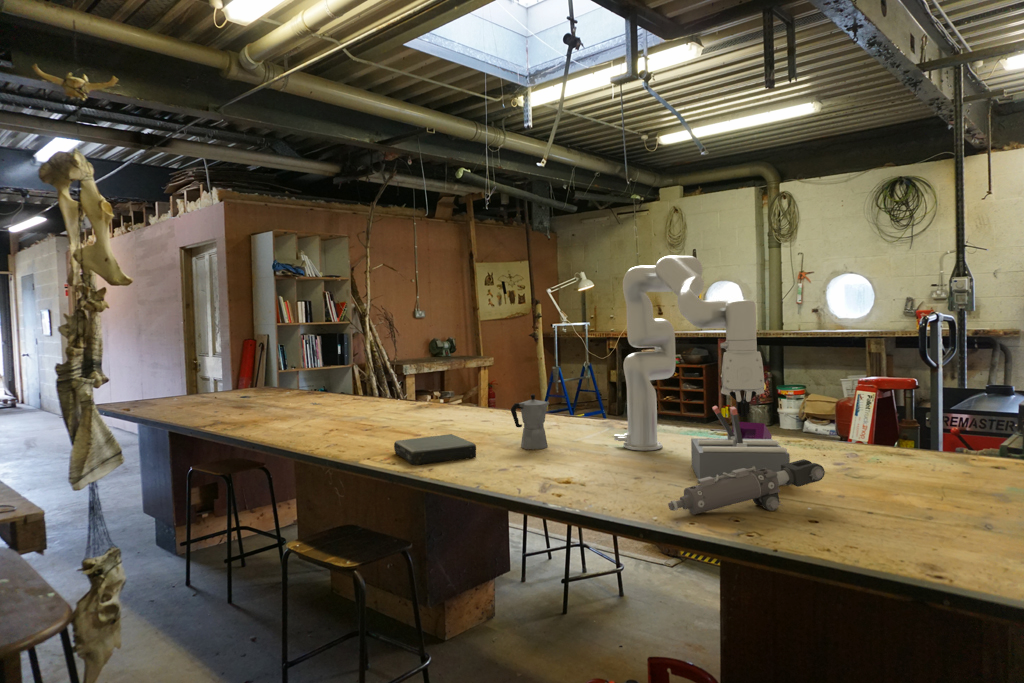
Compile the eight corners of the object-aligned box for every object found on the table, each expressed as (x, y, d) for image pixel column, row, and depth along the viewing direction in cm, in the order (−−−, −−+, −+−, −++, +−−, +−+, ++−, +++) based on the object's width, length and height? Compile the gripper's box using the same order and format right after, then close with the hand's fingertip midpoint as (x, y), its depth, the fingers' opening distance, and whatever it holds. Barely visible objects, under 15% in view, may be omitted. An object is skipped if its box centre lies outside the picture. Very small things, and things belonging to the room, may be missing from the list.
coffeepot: (542, 442, 221) (541, 391, 220) (558, 446, 213) (556, 393, 212) (504, 448, 213) (503, 395, 212) (519, 452, 205) (518, 398, 204)
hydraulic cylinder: (831, 496, 141) (824, 453, 140) (681, 537, 135) (673, 492, 134) (810, 488, 148) (803, 447, 147) (666, 526, 142) (659, 483, 141)
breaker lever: (739, 449, 164) (732, 409, 164) (736, 446, 168) (729, 407, 168) (744, 448, 164) (736, 408, 164) (741, 445, 168) (734, 406, 168)
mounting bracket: (742, 461, 210) (730, 447, 196) (744, 436, 213) (732, 421, 199) (772, 464, 205) (762, 450, 191) (774, 439, 208) (764, 423, 194)
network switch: (483, 457, 201) (483, 442, 201) (417, 469, 188) (416, 452, 188) (448, 446, 220) (448, 432, 220) (386, 456, 207) (385, 441, 207)
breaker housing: (699, 483, 163) (698, 414, 162) (691, 465, 181) (690, 404, 181) (789, 485, 159) (789, 414, 158) (771, 466, 178) (771, 403, 177)
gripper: (714, 348, 162) (716, 418, 163) (775, 346, 160) (776, 418, 160) (709, 347, 170) (711, 414, 170) (767, 345, 167) (769, 414, 168)
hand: (743, 416), depth 165 cm, fingers closed
